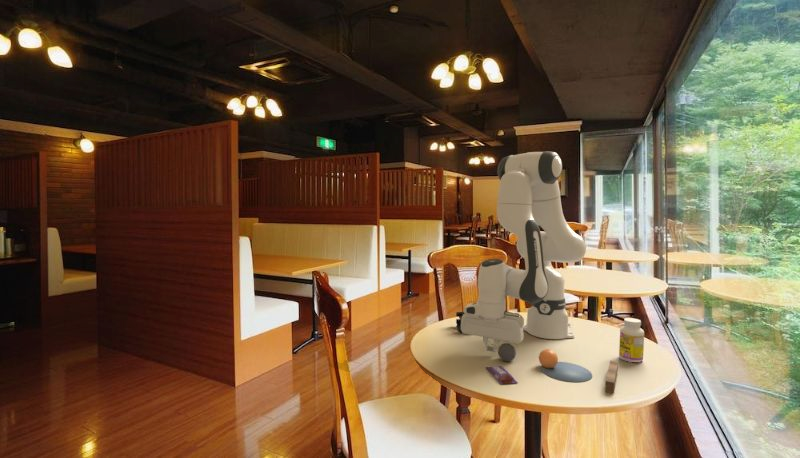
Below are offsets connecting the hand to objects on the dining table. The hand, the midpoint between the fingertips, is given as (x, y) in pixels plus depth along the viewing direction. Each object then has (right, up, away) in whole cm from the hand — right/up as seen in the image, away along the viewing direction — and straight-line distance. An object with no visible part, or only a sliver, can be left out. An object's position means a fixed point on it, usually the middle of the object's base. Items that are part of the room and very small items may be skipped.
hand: (490, 351), depth 129 cm
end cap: (-3, 0, +27) cm, 27 cm away
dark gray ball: (+4, +1, -4) cm, 6 cm away
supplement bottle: (+44, -2, -3) cm, 44 cm away
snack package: (-1, -4, -15) cm, 15 cm away
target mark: (+19, -2, -12) cm, 23 cm away
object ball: (+15, +1, -9) cm, 18 cm away
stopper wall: (+30, -3, -18) cm, 35 cm away
